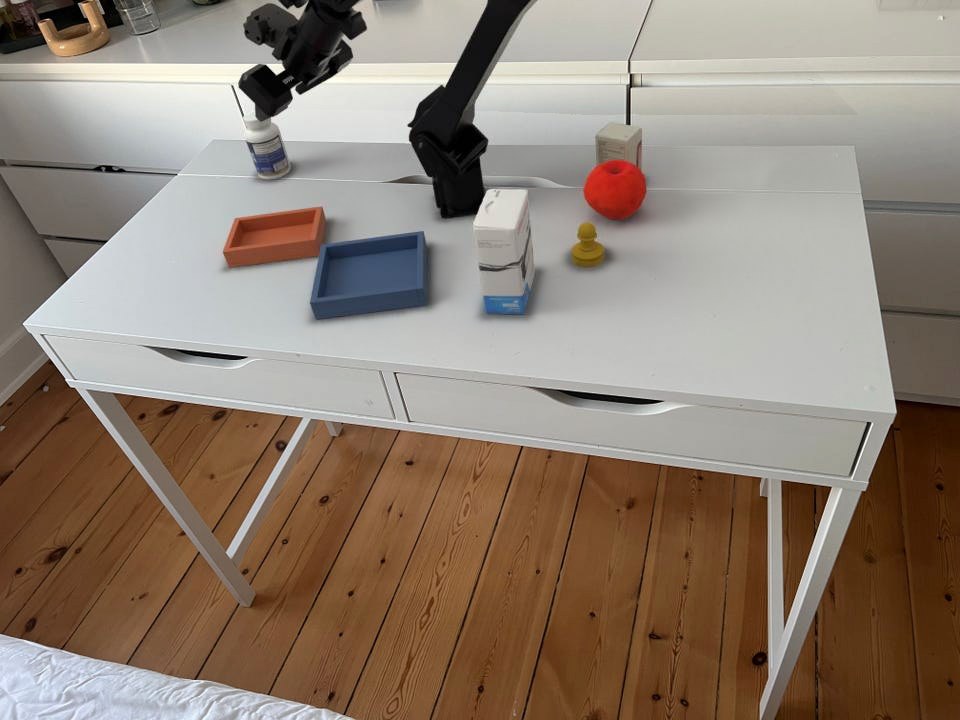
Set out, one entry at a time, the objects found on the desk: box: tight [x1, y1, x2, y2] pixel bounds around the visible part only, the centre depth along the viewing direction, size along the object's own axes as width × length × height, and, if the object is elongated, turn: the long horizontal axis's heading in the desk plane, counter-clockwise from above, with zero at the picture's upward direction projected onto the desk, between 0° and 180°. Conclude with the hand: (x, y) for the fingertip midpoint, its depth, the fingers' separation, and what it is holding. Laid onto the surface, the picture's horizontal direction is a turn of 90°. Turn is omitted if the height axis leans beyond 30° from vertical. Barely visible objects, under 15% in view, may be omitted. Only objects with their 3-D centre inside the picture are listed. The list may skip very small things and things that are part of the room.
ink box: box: [472, 188, 536, 315], centre depth 88 cm, size 8×5×12 cm, turn 168°
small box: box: [594, 121, 643, 172], centre depth 105 cm, size 5×4×8 cm
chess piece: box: [571, 221, 605, 268], centre depth 94 cm, size 4×4×5 cm
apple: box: [582, 160, 648, 221], centre depth 99 cm, size 8×8×7 cm
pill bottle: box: [242, 109, 292, 180], centre depth 120 cm, size 5×5×10 cm
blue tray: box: [309, 230, 428, 320], centre depth 97 cm, size 14×13×3 cm
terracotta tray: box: [222, 205, 328, 269], centre depth 106 cm, size 13×9×3 cm
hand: (278, 105), depth 114 cm, fingers open, 9 cm apart
